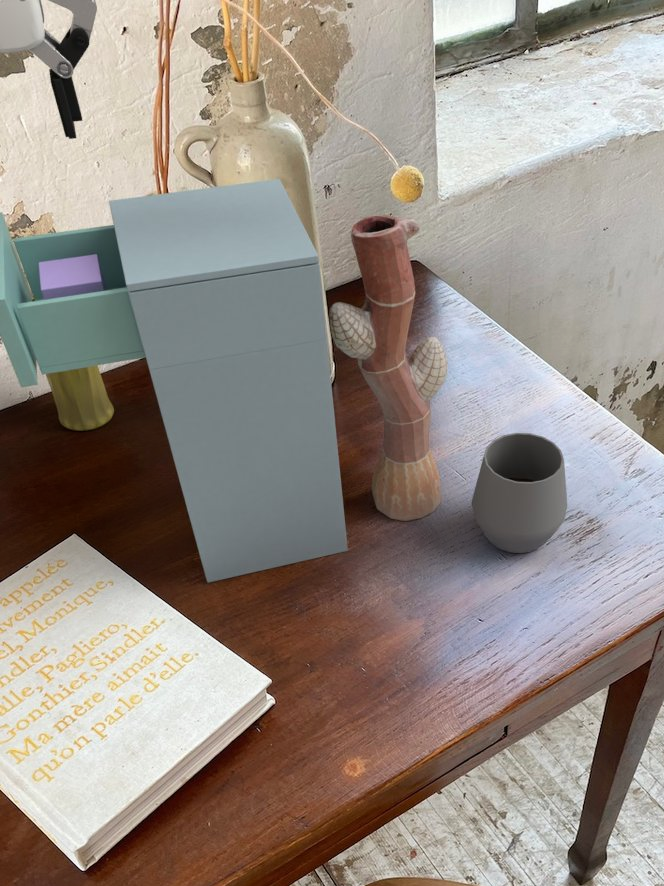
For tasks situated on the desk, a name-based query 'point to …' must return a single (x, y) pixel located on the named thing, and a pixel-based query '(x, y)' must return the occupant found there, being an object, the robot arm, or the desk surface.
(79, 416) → the vase
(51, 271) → the lavender foam block
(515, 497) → the cup
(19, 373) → the mint cabinet drawer
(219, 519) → the tall blue pedestal box
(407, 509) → the vase
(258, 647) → the desk surface
